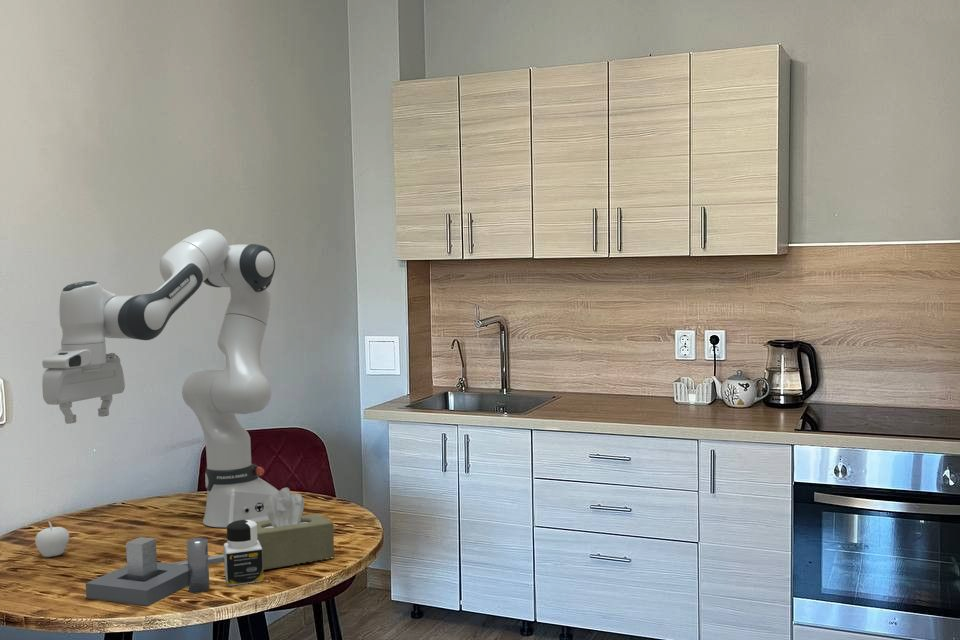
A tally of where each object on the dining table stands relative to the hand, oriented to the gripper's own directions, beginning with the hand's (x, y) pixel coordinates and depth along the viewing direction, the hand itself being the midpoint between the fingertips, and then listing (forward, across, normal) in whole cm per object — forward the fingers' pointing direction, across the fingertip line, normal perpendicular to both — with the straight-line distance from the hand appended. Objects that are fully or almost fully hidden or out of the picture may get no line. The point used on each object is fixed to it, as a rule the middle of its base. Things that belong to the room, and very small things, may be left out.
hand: (87, 419), depth 197 cm
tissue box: (+33, -15, +39) cm, 53 cm away
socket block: (+33, +9, +21) cm, 40 cm away
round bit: (+33, +6, +32) cm, 46 cm away
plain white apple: (+33, -4, -16) cm, 37 cm away
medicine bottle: (+33, -2, +37) cm, 50 cm away
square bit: (+33, +9, +21) cm, 40 cm away
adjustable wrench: (+33, -9, +22) cm, 41 cm away
